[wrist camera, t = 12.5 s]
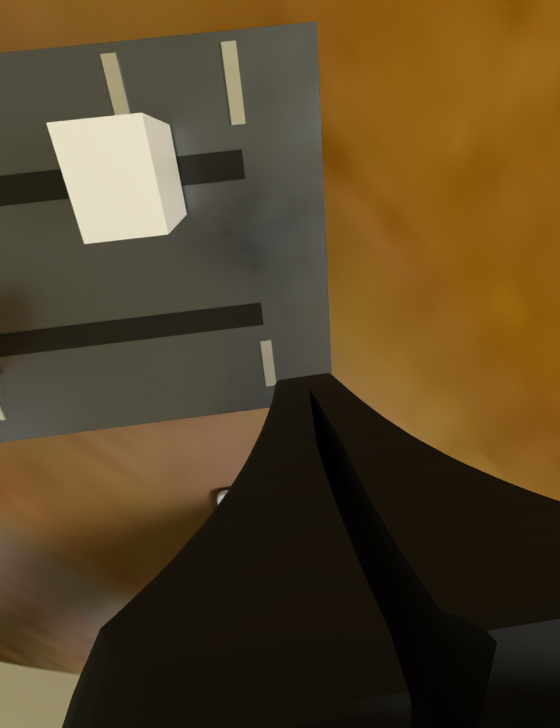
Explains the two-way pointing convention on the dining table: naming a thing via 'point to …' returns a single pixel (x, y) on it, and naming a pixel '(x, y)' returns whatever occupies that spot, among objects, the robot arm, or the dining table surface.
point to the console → (164, 252)
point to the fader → (120, 176)
